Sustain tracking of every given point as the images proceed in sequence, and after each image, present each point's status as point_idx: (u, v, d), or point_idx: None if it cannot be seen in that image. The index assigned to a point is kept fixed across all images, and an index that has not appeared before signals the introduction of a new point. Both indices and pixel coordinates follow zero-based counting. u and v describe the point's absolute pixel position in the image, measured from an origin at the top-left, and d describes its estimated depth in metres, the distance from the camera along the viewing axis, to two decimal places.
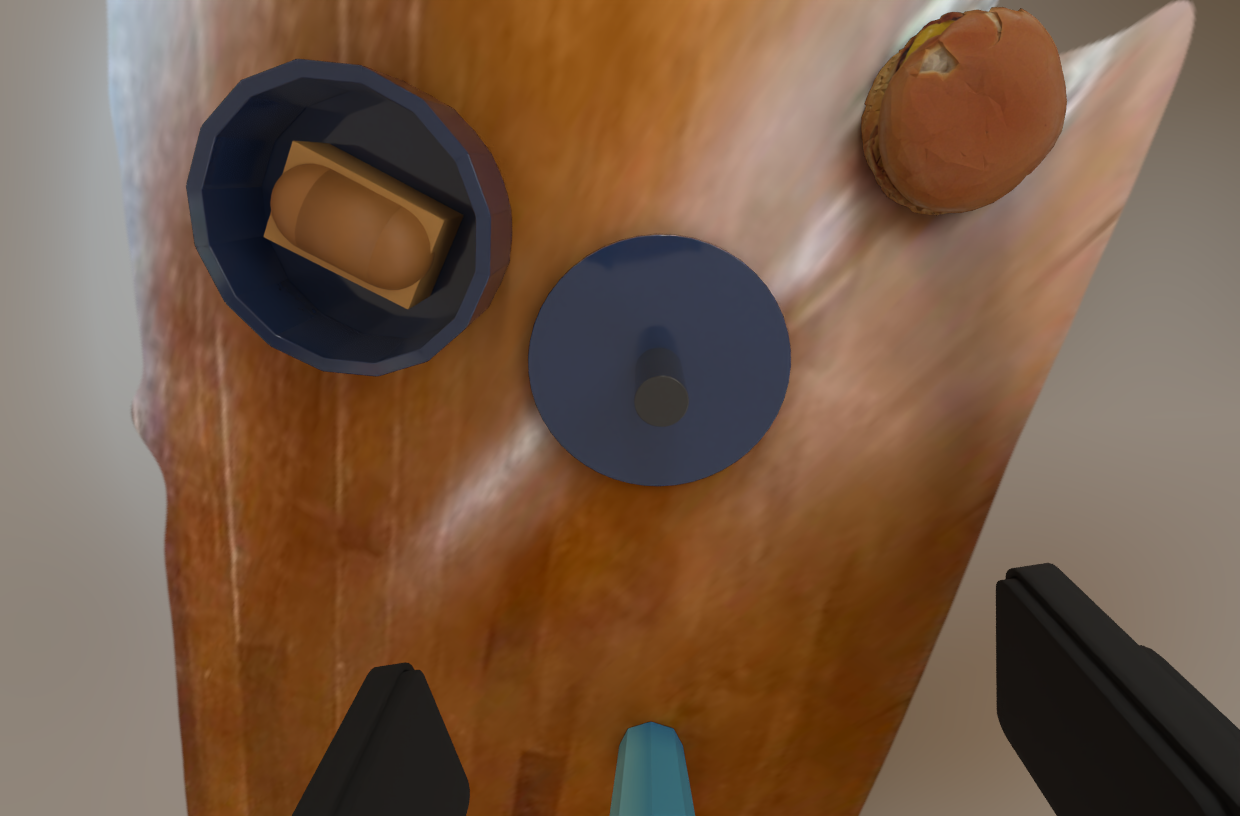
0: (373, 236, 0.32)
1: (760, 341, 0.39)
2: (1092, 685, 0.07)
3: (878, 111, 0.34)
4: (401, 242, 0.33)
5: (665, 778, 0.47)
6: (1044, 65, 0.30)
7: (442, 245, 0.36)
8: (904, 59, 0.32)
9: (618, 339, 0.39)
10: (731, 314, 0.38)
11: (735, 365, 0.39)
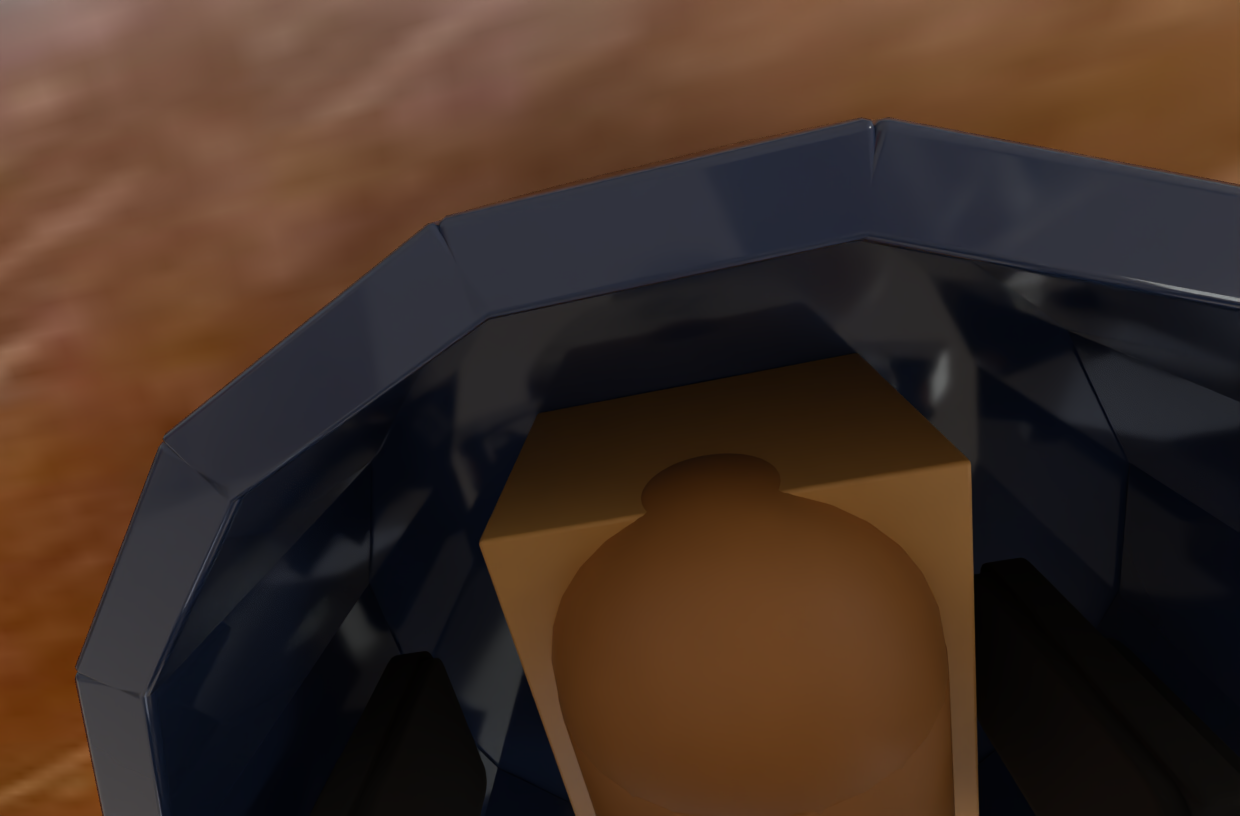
0: None
1: None
2: (1058, 675, 0.07)
3: None
4: None
5: None
6: None
7: None
8: None
9: None
10: None
11: None
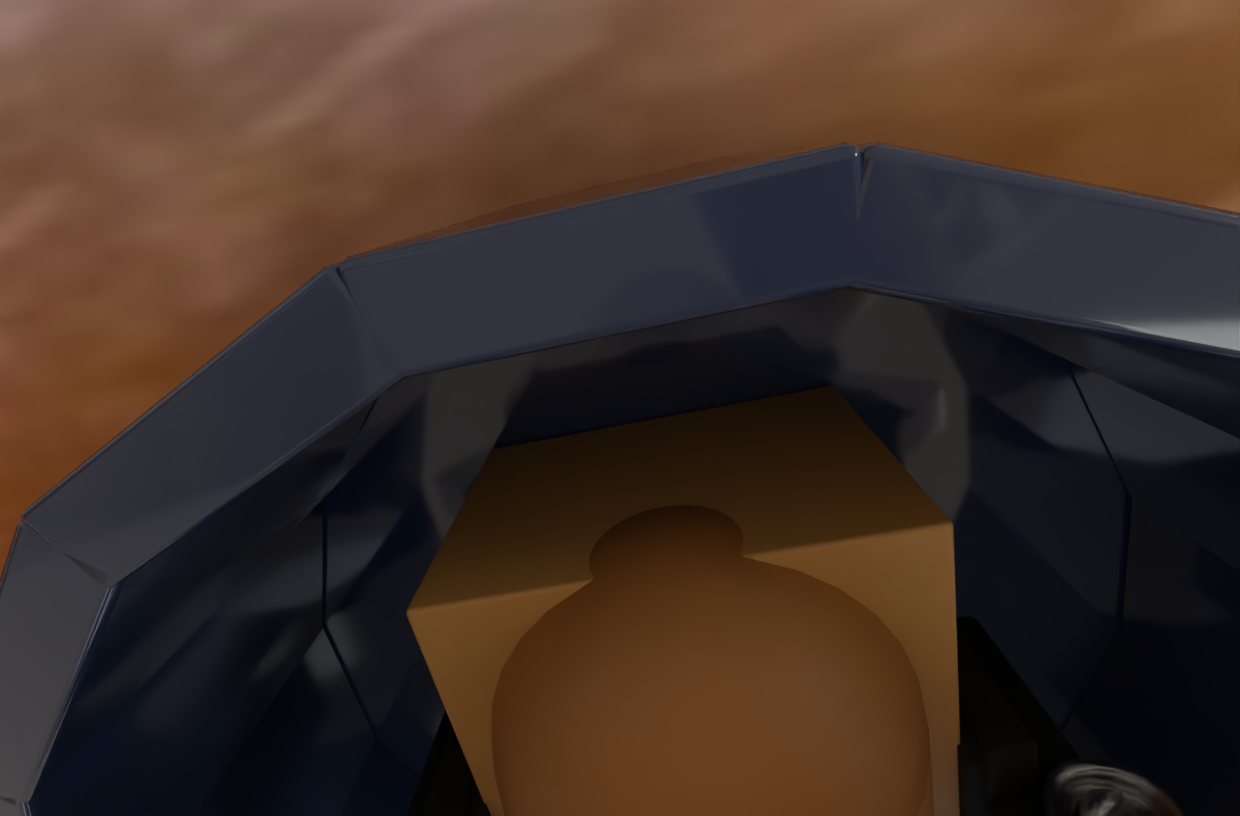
0: None
1: None
2: None
3: None
4: None
5: None
6: None
7: None
8: None
9: None
10: None
11: None
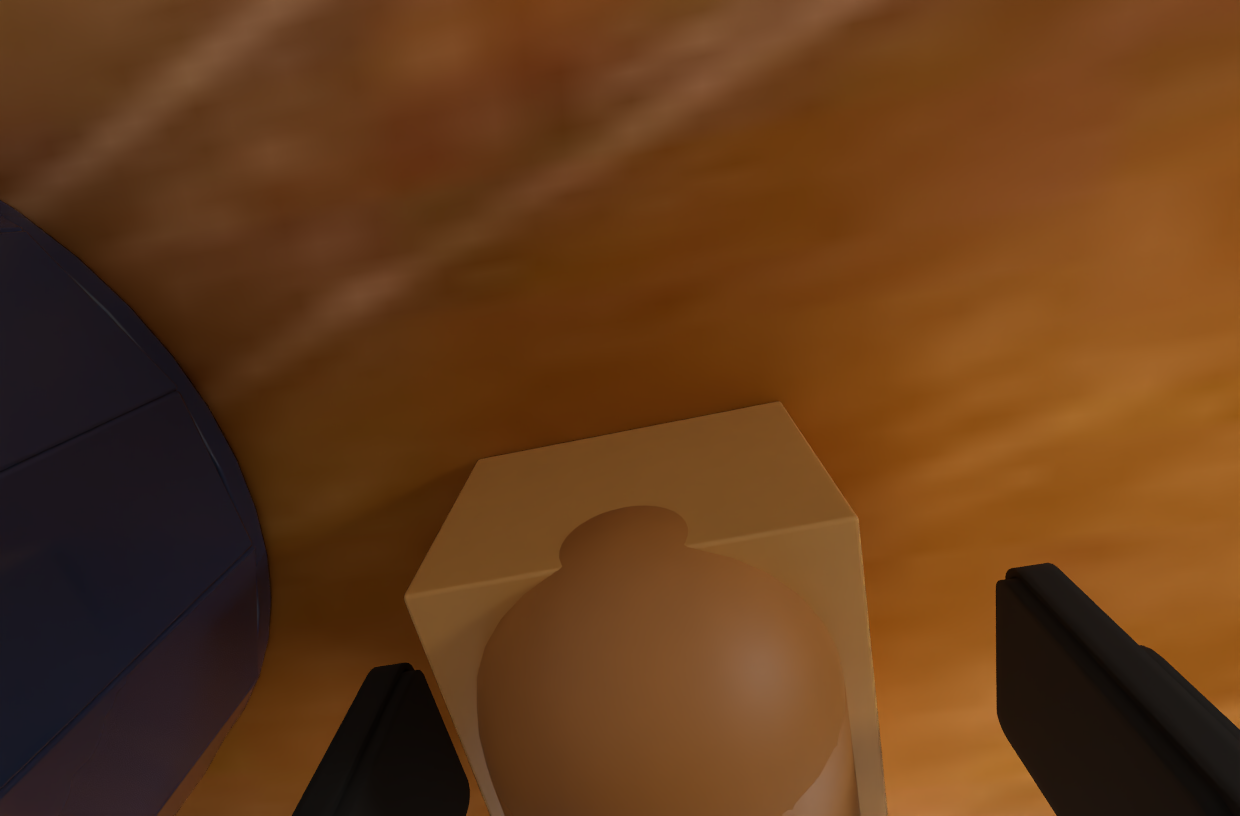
0: None
1: None
2: (1092, 685, 0.07)
3: None
4: None
5: None
6: None
7: None
8: None
9: None
10: None
11: None
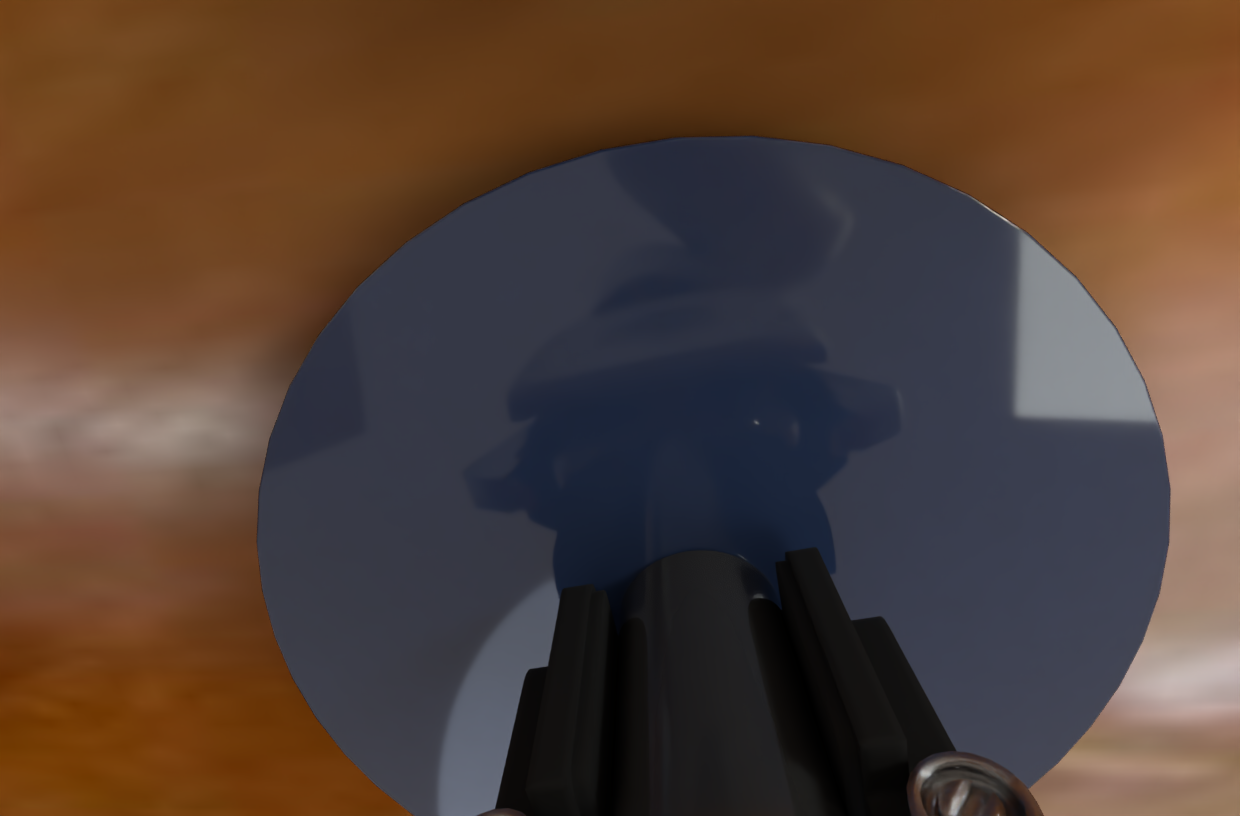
0: None
1: None
2: (805, 645, 0.09)
3: None
4: None
5: None
6: None
7: None
8: None
9: (700, 461, 0.11)
10: (988, 665, 0.12)
11: None
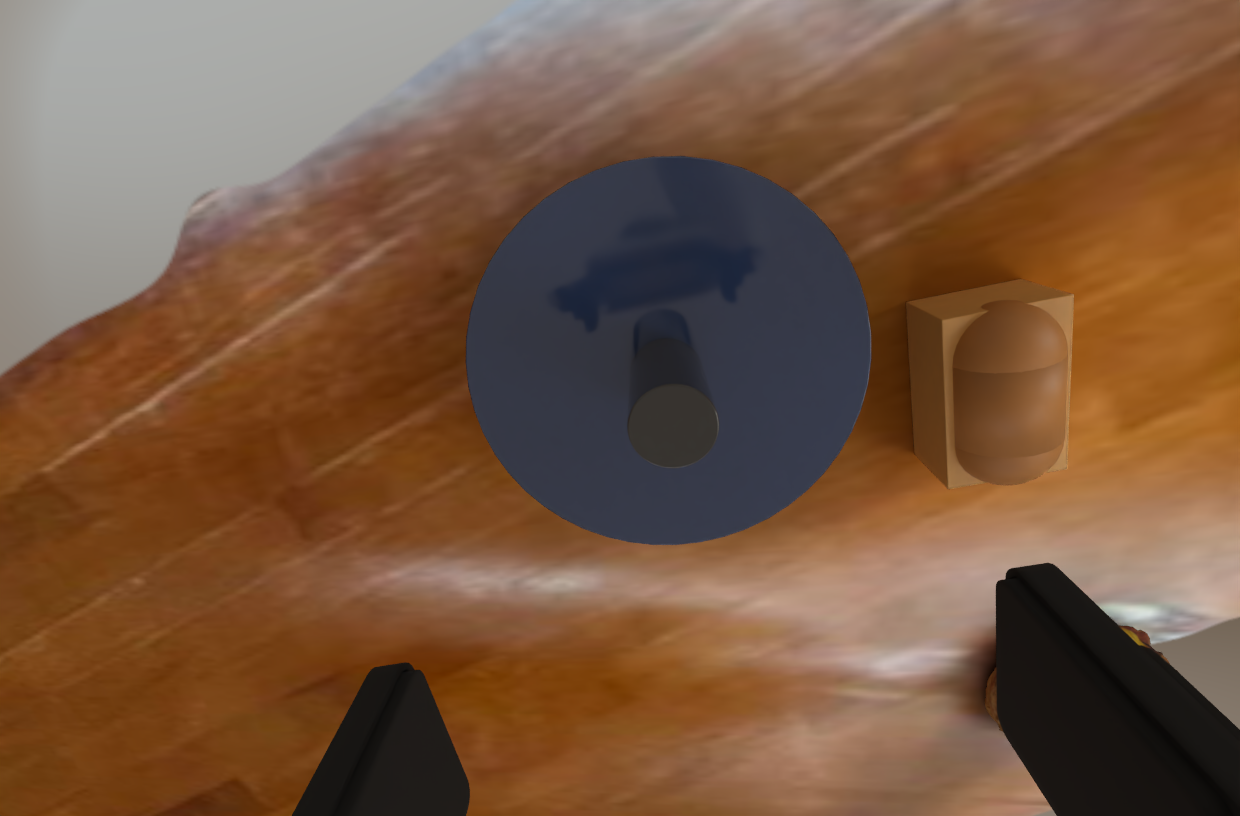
0: (1047, 446, 0.27)
1: (792, 453, 0.27)
2: (1092, 685, 0.07)
3: None
4: (1048, 467, 0.28)
5: None
6: None
7: None
8: None
9: (665, 295, 0.25)
10: (799, 397, 0.26)
11: (742, 450, 0.27)
